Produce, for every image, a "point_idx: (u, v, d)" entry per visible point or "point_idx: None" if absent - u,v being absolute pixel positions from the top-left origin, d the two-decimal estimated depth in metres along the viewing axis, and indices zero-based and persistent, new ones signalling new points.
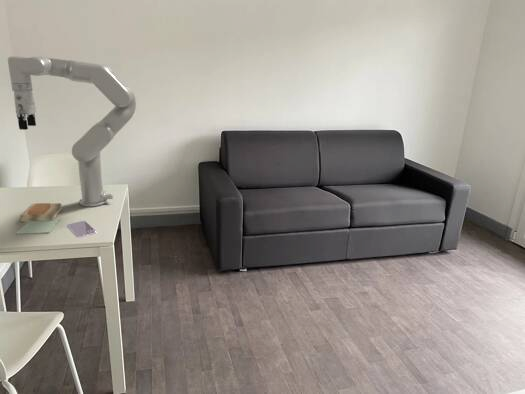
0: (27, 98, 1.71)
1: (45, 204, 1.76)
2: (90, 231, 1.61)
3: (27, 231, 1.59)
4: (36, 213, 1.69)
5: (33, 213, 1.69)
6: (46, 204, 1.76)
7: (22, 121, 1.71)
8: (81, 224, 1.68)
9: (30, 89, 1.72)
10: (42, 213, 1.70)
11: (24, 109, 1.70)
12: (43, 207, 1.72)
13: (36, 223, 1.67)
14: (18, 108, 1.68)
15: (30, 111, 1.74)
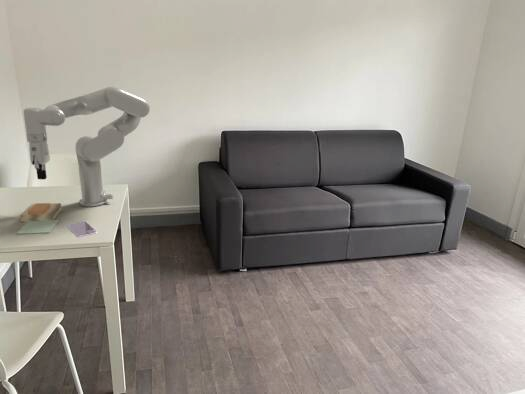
0: (42, 148, 1.71)
1: (45, 204, 1.76)
2: (90, 231, 1.61)
3: (27, 231, 1.59)
4: (36, 213, 1.69)
5: (33, 213, 1.69)
6: (46, 204, 1.76)
7: (41, 172, 1.76)
8: (81, 224, 1.68)
9: (45, 139, 1.73)
10: (42, 213, 1.70)
11: (41, 164, 1.73)
12: (43, 207, 1.72)
13: (36, 223, 1.67)
14: (36, 163, 1.71)
15: (45, 161, 1.75)
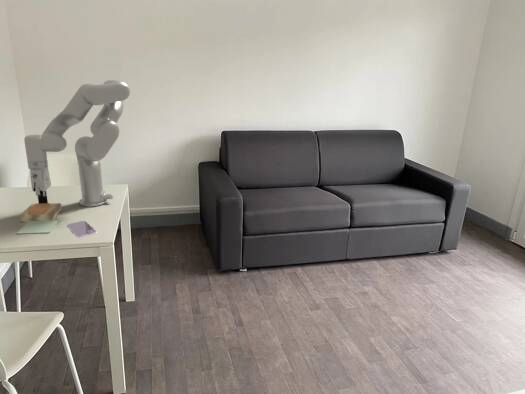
0: (43, 175, 1.72)
1: (45, 204, 1.76)
2: (90, 231, 1.62)
3: (27, 231, 1.59)
4: (36, 213, 1.69)
5: (33, 213, 1.69)
6: (46, 204, 1.76)
7: (42, 198, 1.76)
8: (81, 224, 1.68)
9: (46, 166, 1.73)
10: (42, 213, 1.70)
11: (42, 190, 1.73)
12: (43, 207, 1.72)
13: (36, 223, 1.67)
14: (37, 190, 1.72)
15: (46, 187, 1.75)
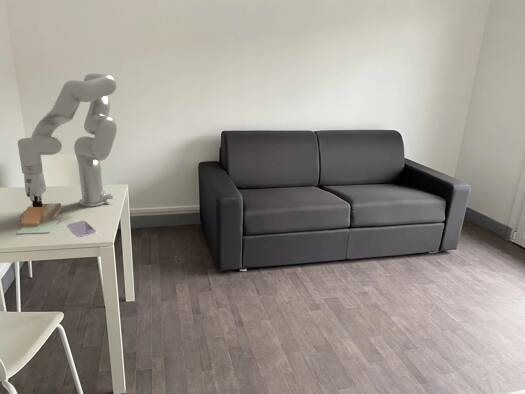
0: (37, 180, 1.65)
1: (38, 209, 1.69)
2: (90, 231, 1.62)
3: (27, 231, 1.59)
4: (30, 225, 1.64)
5: (27, 225, 1.64)
6: (39, 209, 1.69)
7: (36, 203, 1.70)
8: (81, 224, 1.68)
9: (40, 170, 1.66)
10: (37, 225, 1.65)
11: (36, 196, 1.67)
12: (37, 216, 1.66)
13: None
14: (31, 195, 1.65)
15: (41, 192, 1.68)
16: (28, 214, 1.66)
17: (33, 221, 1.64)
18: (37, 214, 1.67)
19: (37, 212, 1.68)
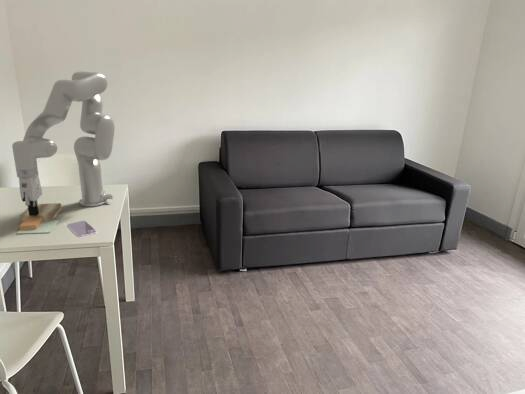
0: (33, 184, 1.60)
1: (37, 218, 1.68)
2: (90, 231, 1.62)
3: (27, 231, 1.59)
4: (28, 228, 1.61)
5: (25, 228, 1.61)
6: (39, 218, 1.68)
7: (32, 208, 1.65)
8: (81, 224, 1.68)
9: (36, 174, 1.61)
10: (35, 228, 1.61)
11: (32, 200, 1.62)
12: (36, 221, 1.64)
13: None
14: (26, 200, 1.60)
15: (36, 196, 1.63)
16: (27, 221, 1.65)
17: (31, 224, 1.61)
18: (36, 220, 1.65)
19: (36, 219, 1.66)
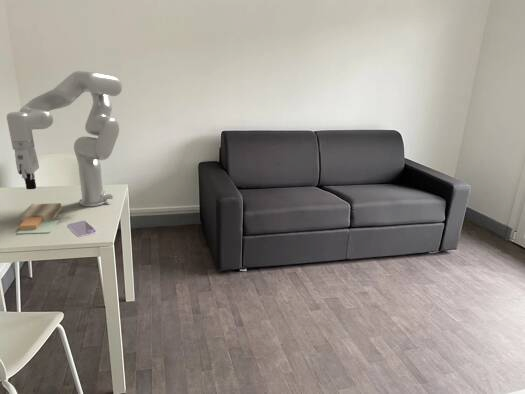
0: (29, 156, 1.57)
1: (37, 218, 1.68)
2: (90, 231, 1.62)
3: (27, 231, 1.59)
4: (28, 228, 1.61)
5: (25, 228, 1.61)
6: (39, 218, 1.68)
7: (29, 181, 1.62)
8: (81, 224, 1.68)
9: (32, 146, 1.58)
10: (35, 228, 1.61)
11: (28, 173, 1.58)
12: (36, 221, 1.64)
13: None
14: (23, 173, 1.57)
15: (33, 169, 1.60)
16: (27, 221, 1.65)
17: (31, 224, 1.61)
18: (36, 220, 1.65)
19: (36, 219, 1.66)
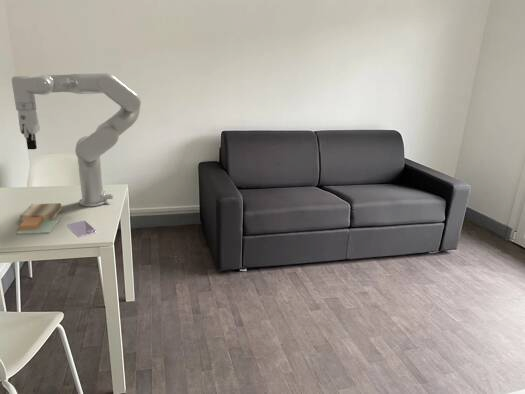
0: (31, 117, 1.70)
1: (37, 218, 1.68)
2: (90, 231, 1.62)
3: (27, 231, 1.59)
4: (28, 228, 1.61)
5: (25, 228, 1.61)
6: (39, 218, 1.68)
7: (30, 141, 1.75)
8: (81, 224, 1.68)
9: (34, 108, 1.71)
10: (35, 228, 1.61)
11: (30, 133, 1.72)
12: (36, 221, 1.64)
13: None
14: (25, 132, 1.70)
15: (35, 130, 1.73)
16: (27, 221, 1.65)
17: (31, 224, 1.61)
18: (36, 220, 1.65)
19: (36, 219, 1.66)
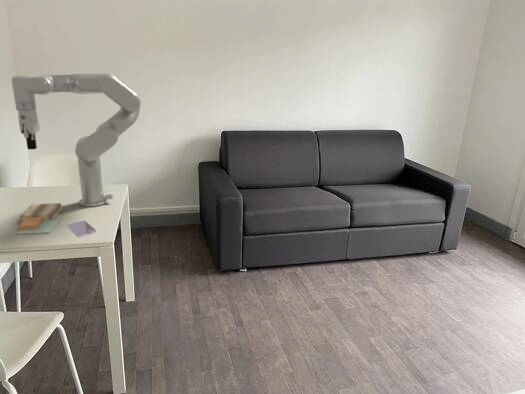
0: (31, 117, 1.70)
1: (37, 218, 1.68)
2: (90, 231, 1.62)
3: (27, 231, 1.59)
4: (28, 228, 1.61)
5: (25, 228, 1.61)
6: (39, 218, 1.68)
7: (30, 141, 1.75)
8: (81, 224, 1.68)
9: (34, 108, 1.71)
10: (35, 228, 1.61)
11: (30, 133, 1.72)
12: (36, 221, 1.64)
13: None
14: (25, 132, 1.70)
15: (35, 130, 1.73)
16: (27, 221, 1.65)
17: (31, 224, 1.61)
18: (36, 220, 1.65)
19: (36, 219, 1.66)
